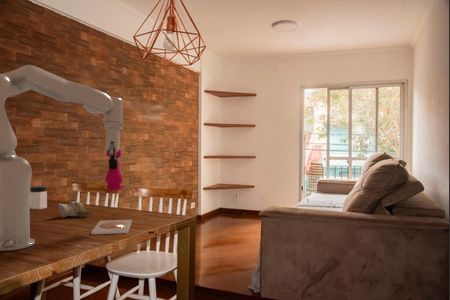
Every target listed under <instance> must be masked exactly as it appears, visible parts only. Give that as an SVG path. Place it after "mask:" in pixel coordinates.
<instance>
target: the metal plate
mask: <svg viewBox="0 0 450 300" xmlns="http://www.w3.org/2000/svg"><path fill="white" fill-rule="evenodd" d="M132 223H133V220H132V219H116V220H115V219H114V220H111V219H109V220H108V219H107V220H99V221H98V223H96V225H95V226H94V228H93V229H92V230H91V232H90V233H91V236H93V235H117V234H128V233H129V232H130V231H129V230H130V227H131V225H132Z"/></svg>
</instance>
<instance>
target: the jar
mask: <svg viewBox="0 0 450 300" xmlns="http://www.w3.org/2000/svg"><path fill="white" fill-rule="evenodd" d="M47 208H48V191H47V186H46V185H33V186H30V210H43V209H47Z"/></svg>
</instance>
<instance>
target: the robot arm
mask: <svg viewBox="0 0 450 300" xmlns="http://www.w3.org/2000/svg"><path fill="white" fill-rule="evenodd" d="M27 91H34V92H35V93H36V92H37V93H40V94H42V95H44V96H47V97H49V98H52V99H55V101H59V102H60V101H61V102H65V103H66V102H67V103H77V104H81V105H83V109H84V110H85V111H86V112H87V113H89V114H92V115H95V114H104V116H103V119H104V120H103V121H104V130H105V131H106V132H105V152H106V153H107V151H109V157H108V158H109V162H108V170H109V169H117V159H116V152H118V150H119V149H120V150H121V131H122V130H124V122H123V120H124V117H123V116H124V113H123V110H124V106H123V104H124V102H123V98H120V97H116V96H109V95H108V94H107V93H105V92H103V91H101V90H99V89H96V88H94V87H92V86H88V85H85V84H81V83H79V82H75V81H71V80H68V79H65V78H64V77H62V76H59V75H56V74H54V73H52V72H50V71H47V70H45V69H43V68H41V67H38V66H37V65H32V64H26V65H23V66H21V67H19V68H17V69H14V70H11V71H8V72H5V73H0V252H3V251H4V252H5V251H6V252H7V251H17V250H22V249H26V248H30V247H32V246H33V245H35V244H36V242H35V241H36V239H34V238H31V209H30V187H31V183H32V176H33V170H32V166H31V164H30V162H29V161H28V160H27V159H25V158H23V157H21V156H18V155H17V153H16V151H15V150H16V148H17V146H18V138H17V137H16V133H15V131H14V130H13V128H12V125H11V123H10V120H9V118H8V115H7V112H6V109H5V104H6V100H7V98H9V97H14V96H17V95H20V94H23V93H25V92H27ZM109 148H110V150H109ZM113 151H115V152H113Z"/></svg>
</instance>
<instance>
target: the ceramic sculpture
mask: <svg viewBox="0 0 450 300" xmlns="http://www.w3.org/2000/svg"><path fill="white" fill-rule="evenodd" d="M58 211H59V213H60V216H61V217H62V218H63V219H64V218H67V217H74V218H77V217H80V216H81V217H84V216H88V215H91V214H92V213H93V212H92V211H89V209H88V208H85V206H84V204H83V203H82V202H80V201H76V200H75V199H72V200H70V201H69V202H68V203H66V204H64V203H59V202H58Z"/></svg>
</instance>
